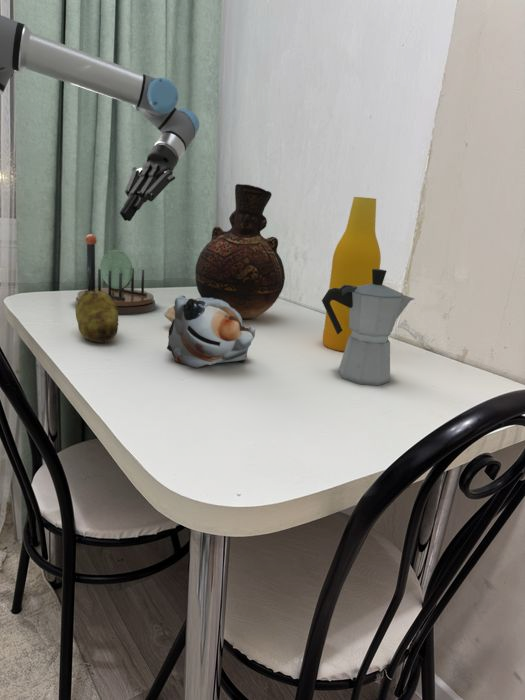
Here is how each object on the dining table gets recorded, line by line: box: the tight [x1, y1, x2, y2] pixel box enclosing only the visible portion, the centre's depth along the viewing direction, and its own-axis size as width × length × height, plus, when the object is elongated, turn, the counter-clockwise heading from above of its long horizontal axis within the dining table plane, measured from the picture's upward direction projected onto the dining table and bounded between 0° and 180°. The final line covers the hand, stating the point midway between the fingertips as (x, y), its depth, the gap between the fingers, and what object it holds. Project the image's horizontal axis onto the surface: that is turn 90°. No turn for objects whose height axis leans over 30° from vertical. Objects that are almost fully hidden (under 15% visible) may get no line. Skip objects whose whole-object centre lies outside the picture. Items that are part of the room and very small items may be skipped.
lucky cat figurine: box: [166, 294, 256, 369], centre depth 83 cm, size 15×12×14 cm
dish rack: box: [77, 233, 155, 306], centre depth 117 cm, size 18×17×14 cm
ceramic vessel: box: [194, 183, 286, 319], centre depth 116 cm, size 21×18×30 cm
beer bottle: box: [322, 196, 382, 353], centre depth 98 cm, size 9×9×29 cm
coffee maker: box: [321, 268, 415, 386], centre depth 82 cm, size 15×9×18 cm, turn 92°
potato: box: [75, 291, 119, 344], centre depth 93 cm, size 8×13×8 cm, turn 9°
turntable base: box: [75, 296, 156, 316], centre depth 120 cm, size 18×18×2 cm
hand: (124, 216), depth 128 cm, fingers closed
